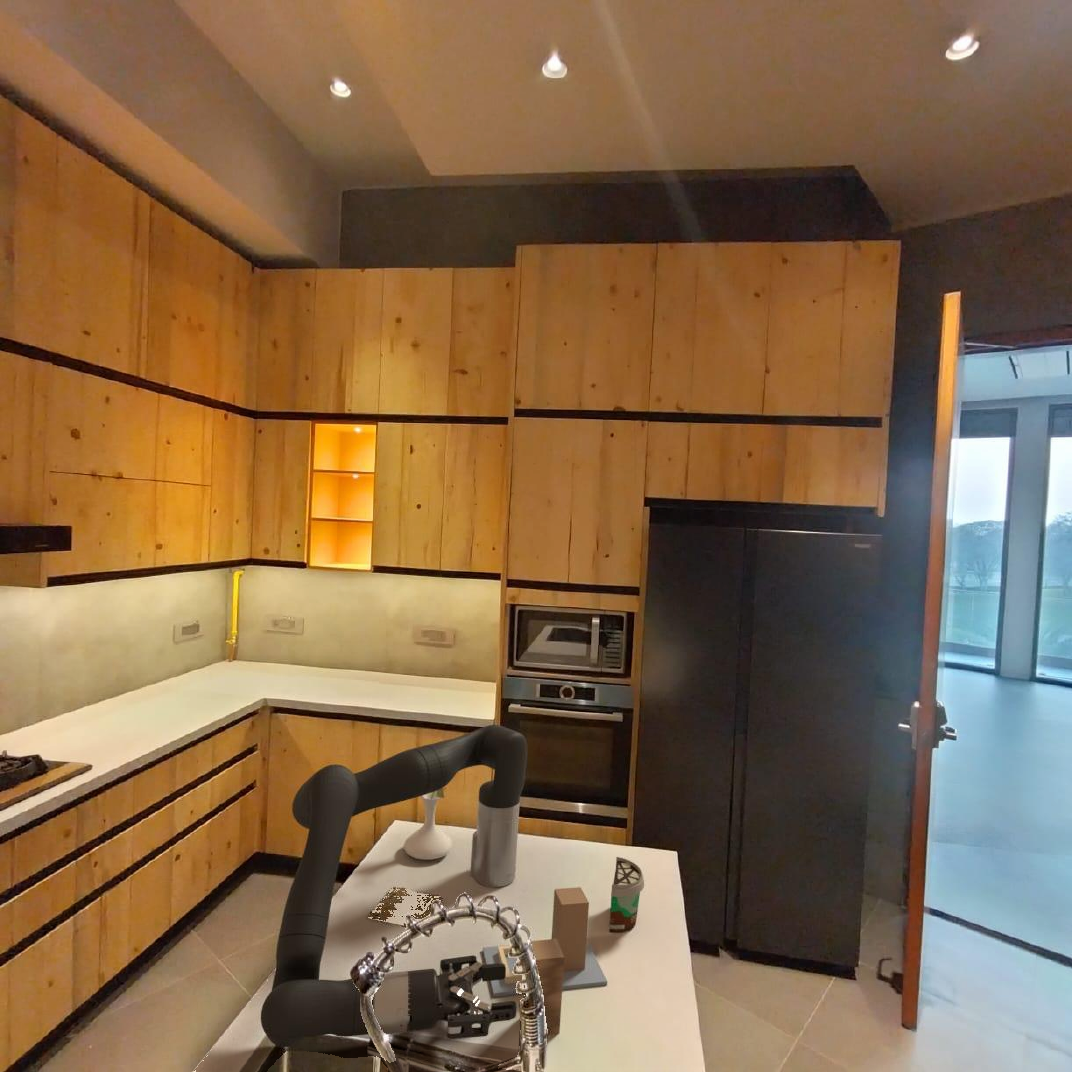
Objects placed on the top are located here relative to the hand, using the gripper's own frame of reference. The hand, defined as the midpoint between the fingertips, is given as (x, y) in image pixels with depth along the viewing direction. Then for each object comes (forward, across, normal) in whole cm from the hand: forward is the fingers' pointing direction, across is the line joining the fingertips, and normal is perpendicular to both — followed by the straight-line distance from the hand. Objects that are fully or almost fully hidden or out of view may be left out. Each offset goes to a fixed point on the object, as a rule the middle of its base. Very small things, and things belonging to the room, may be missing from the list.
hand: (510, 989), depth 102 cm
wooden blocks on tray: (+9, -14, -6) cm, 18 cm away
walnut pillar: (+6, 0, -6) cm, 9 cm away
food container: (+29, -25, -7) cm, 39 cm away
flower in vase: (-9, -56, -7) cm, 57 cm away
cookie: (-14, -35, -7) cm, 38 cm away
